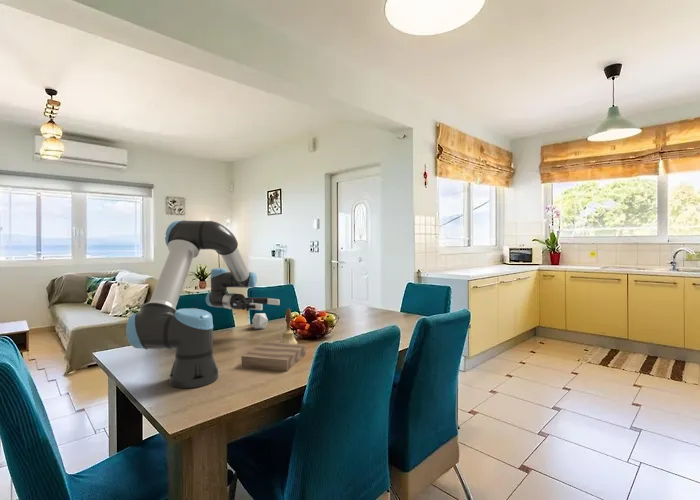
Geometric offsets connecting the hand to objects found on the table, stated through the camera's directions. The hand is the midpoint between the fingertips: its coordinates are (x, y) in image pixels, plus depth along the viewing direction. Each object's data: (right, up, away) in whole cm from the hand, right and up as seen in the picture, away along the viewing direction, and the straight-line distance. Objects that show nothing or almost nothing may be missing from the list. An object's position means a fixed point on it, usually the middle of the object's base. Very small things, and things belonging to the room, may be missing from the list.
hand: (271, 304), depth 171 cm
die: (-11, -16, +25) cm, 32 cm away
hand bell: (+9, -17, -4) cm, 20 cm away
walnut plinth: (+8, -18, -27) cm, 33 cm away
